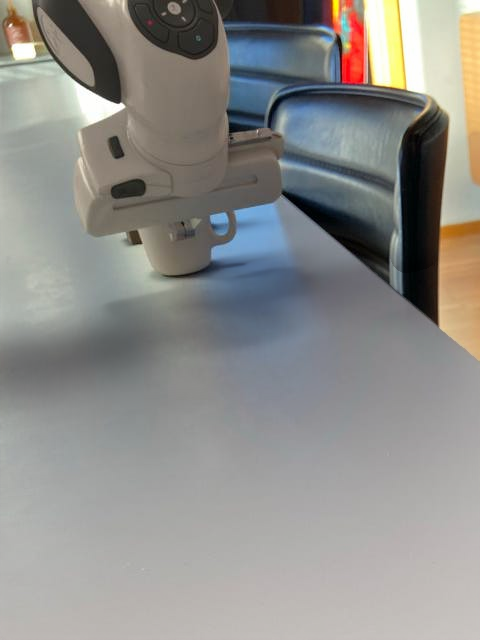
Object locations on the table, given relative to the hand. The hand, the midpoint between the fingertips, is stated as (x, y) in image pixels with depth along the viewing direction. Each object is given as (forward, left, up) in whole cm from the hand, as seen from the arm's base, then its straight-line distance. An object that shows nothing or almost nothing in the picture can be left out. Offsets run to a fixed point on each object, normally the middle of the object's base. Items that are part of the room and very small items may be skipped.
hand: (183, 233), depth 108 cm
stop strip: (-7, +20, -4) cm, 21 cm away
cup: (0, +3, -5) cm, 6 cm away
